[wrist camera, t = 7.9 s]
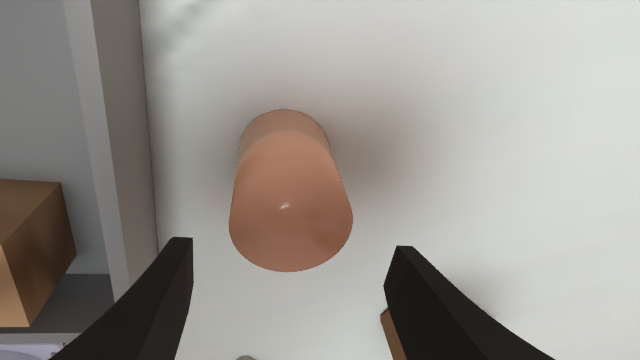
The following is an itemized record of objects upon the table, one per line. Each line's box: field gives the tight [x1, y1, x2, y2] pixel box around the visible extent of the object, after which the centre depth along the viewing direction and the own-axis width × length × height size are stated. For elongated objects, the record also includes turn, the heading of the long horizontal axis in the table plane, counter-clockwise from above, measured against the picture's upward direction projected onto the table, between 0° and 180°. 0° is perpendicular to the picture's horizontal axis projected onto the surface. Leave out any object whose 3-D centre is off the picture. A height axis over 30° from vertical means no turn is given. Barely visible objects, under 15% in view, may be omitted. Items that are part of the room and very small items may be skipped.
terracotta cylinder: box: [229, 109, 353, 272], centre depth 18 cm, size 5×5×7 cm
